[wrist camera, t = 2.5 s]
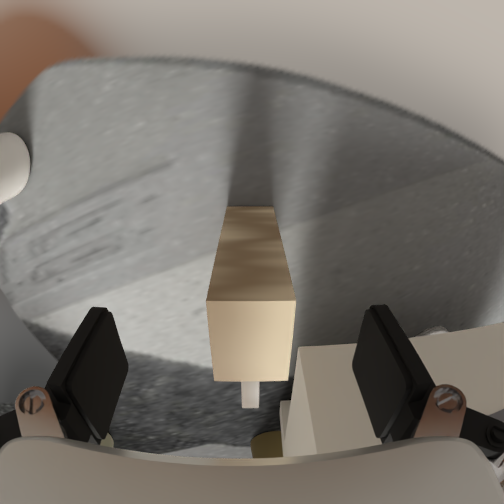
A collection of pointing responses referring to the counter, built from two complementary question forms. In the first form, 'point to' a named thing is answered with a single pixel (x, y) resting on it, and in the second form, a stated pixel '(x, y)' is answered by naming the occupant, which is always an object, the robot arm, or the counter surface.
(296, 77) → the counter surface
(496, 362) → the cabinet
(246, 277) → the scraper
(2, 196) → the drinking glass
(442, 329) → the ball
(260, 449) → the cork
